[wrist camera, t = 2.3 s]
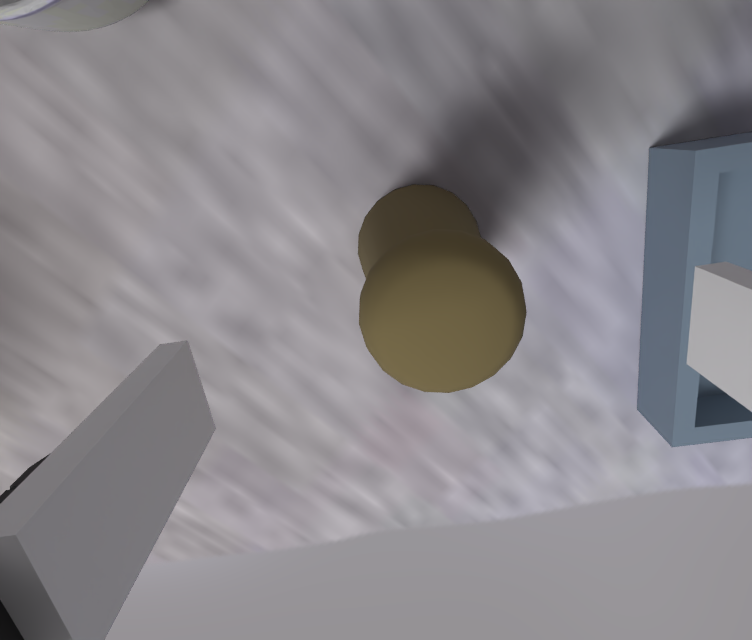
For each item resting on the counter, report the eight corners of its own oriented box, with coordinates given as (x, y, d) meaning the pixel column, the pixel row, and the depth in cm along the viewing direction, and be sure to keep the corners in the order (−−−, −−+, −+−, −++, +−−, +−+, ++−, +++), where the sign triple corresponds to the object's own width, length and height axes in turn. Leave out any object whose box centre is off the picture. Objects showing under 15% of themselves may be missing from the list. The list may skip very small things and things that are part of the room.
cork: (504, 250, 24) (597, 339, 14) (412, 327, 26) (434, 458, 15) (425, 156, 22) (464, 177, 12) (332, 243, 24) (297, 327, 14)
